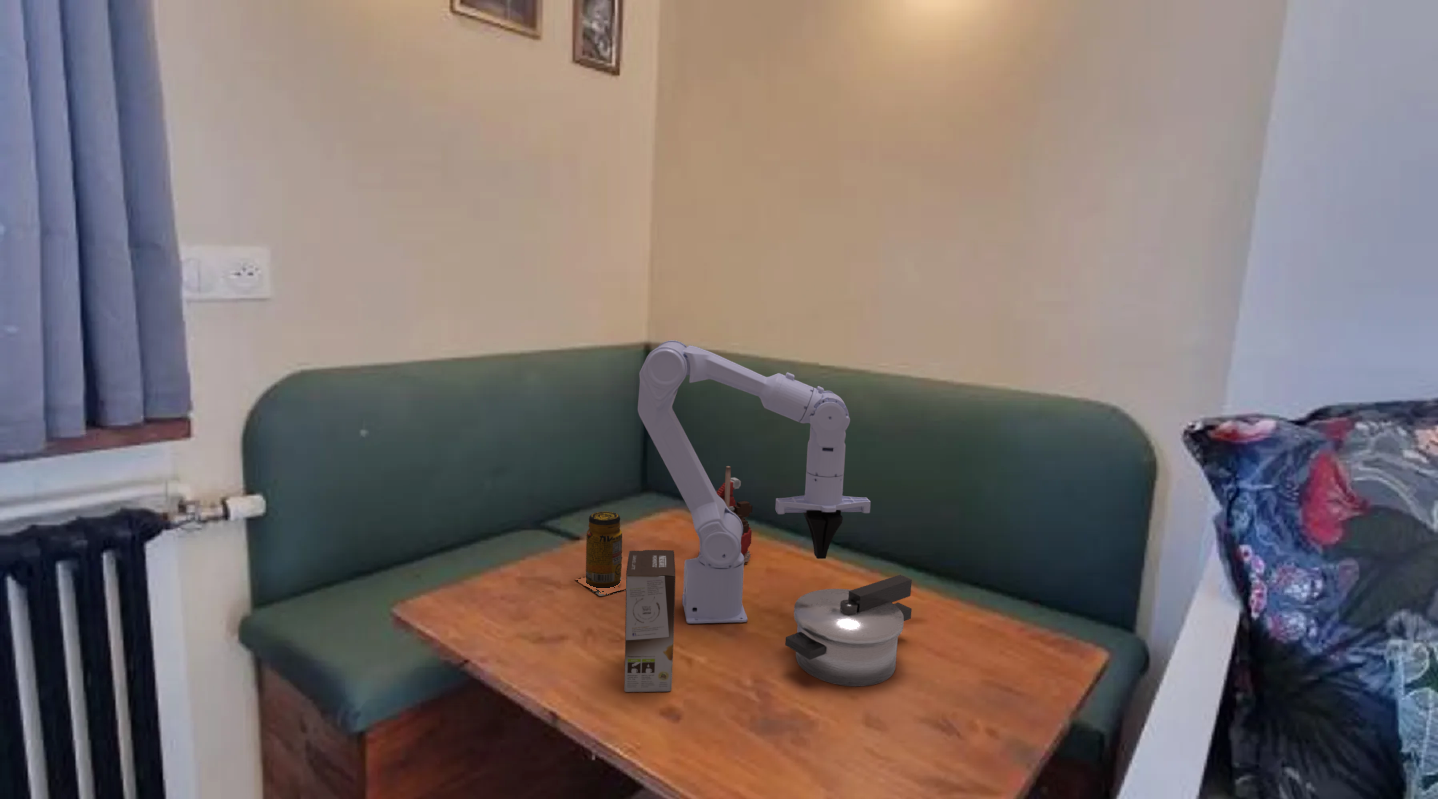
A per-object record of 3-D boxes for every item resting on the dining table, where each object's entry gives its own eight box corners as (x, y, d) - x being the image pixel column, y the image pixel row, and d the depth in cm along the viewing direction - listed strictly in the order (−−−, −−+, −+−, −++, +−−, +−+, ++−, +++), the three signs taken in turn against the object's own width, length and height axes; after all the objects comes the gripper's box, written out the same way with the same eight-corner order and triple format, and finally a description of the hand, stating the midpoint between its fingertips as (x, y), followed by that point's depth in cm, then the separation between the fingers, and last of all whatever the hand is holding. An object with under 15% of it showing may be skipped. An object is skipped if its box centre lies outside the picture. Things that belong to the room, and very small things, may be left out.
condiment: (610, 571, 140) (611, 506, 138) (637, 587, 134) (638, 520, 132) (574, 580, 136) (574, 514, 134) (599, 598, 129) (600, 528, 127)
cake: (713, 573, 141) (717, 476, 138) (687, 556, 149) (690, 463, 145) (762, 563, 146) (766, 469, 143) (734, 546, 154) (738, 457, 151)
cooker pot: (833, 703, 101) (836, 660, 100) (761, 658, 112) (763, 618, 111) (940, 656, 114) (943, 617, 113) (867, 619, 125) (870, 583, 124)
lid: (849, 656, 101) (851, 630, 100) (771, 611, 112) (773, 588, 112) (945, 619, 112) (948, 595, 112) (866, 582, 124) (867, 560, 124)
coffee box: (673, 692, 102) (676, 575, 99) (623, 693, 102) (625, 575, 99) (671, 657, 111) (674, 549, 108) (625, 657, 111) (627, 548, 108)
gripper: (784, 479, 115) (779, 567, 118) (879, 479, 117) (873, 565, 120) (774, 466, 122) (770, 549, 125) (864, 466, 124) (858, 548, 127)
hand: (819, 556), depth 123 cm, fingers closed
